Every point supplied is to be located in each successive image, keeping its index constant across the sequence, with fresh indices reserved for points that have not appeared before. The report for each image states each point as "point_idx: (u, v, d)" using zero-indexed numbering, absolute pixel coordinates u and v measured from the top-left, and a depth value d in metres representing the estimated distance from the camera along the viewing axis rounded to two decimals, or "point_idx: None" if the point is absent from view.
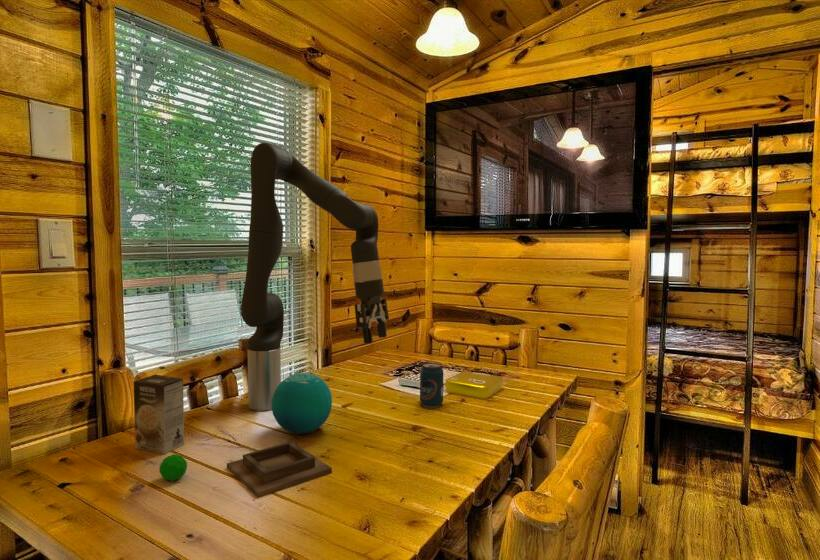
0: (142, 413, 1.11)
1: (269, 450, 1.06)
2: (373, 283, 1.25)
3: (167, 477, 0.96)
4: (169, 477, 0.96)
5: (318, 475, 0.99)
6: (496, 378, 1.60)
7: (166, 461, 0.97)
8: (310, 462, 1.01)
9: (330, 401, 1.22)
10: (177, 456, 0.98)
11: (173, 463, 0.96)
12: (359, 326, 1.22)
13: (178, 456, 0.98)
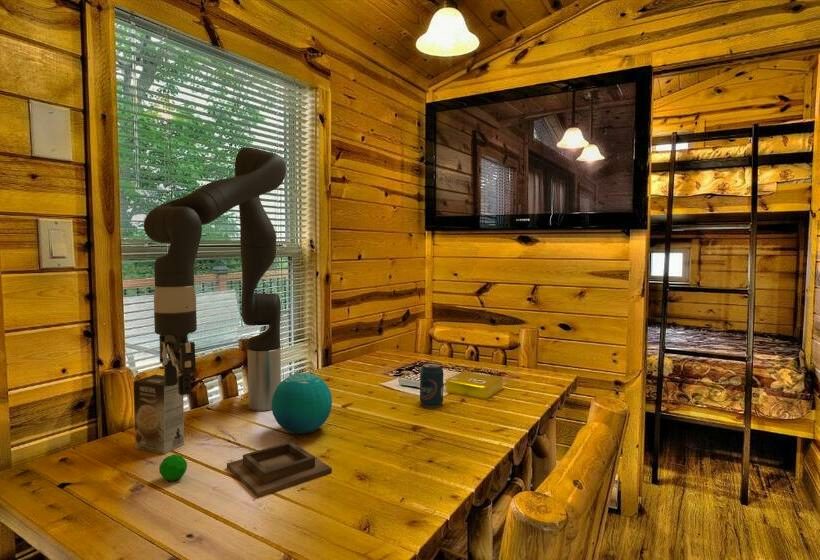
0: (142, 413, 1.11)
1: (269, 450, 1.06)
2: None
3: (167, 477, 0.96)
4: (169, 477, 0.96)
5: (318, 475, 0.99)
6: (496, 378, 1.60)
7: (166, 461, 0.97)
8: (310, 462, 1.01)
9: (330, 401, 1.22)
10: (177, 456, 0.98)
11: (173, 463, 0.96)
12: None
13: (178, 456, 0.98)
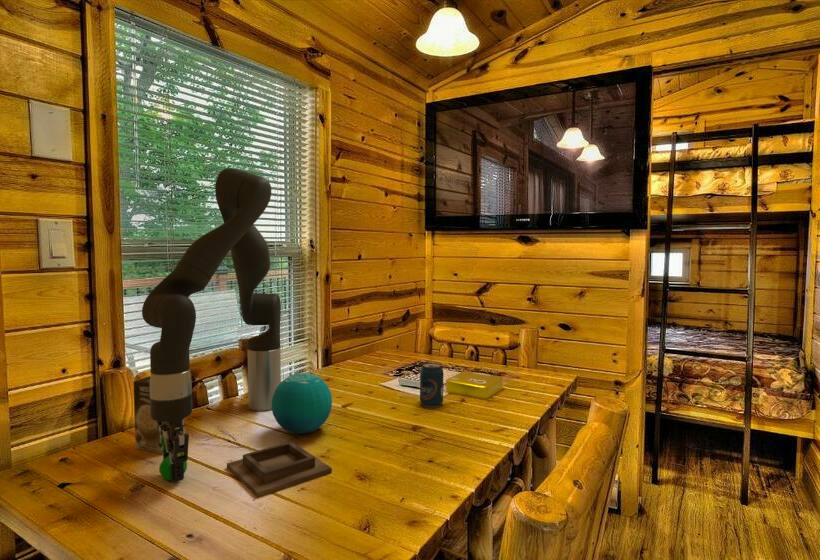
0: (142, 413, 1.11)
1: (269, 450, 1.06)
2: None
3: (167, 477, 0.96)
4: (169, 477, 0.96)
5: (318, 475, 0.99)
6: (497, 378, 1.60)
7: (166, 461, 0.97)
8: (310, 462, 1.01)
9: (330, 401, 1.22)
10: None
11: None
12: None
13: None
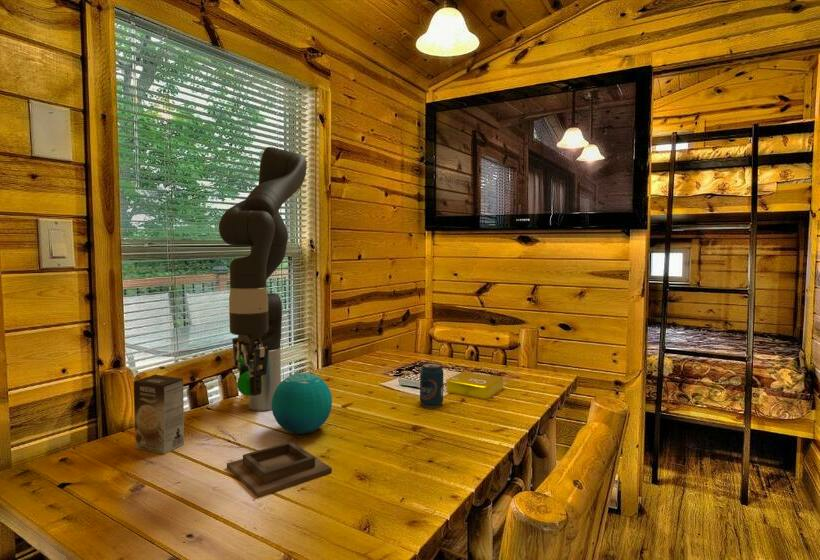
0: (142, 413, 1.11)
1: (269, 450, 1.06)
2: None
3: (245, 391, 0.98)
4: (247, 391, 0.98)
5: (318, 475, 0.99)
6: (497, 378, 1.60)
7: (244, 376, 0.98)
8: (310, 462, 1.01)
9: (330, 401, 1.22)
10: None
11: None
12: None
13: None
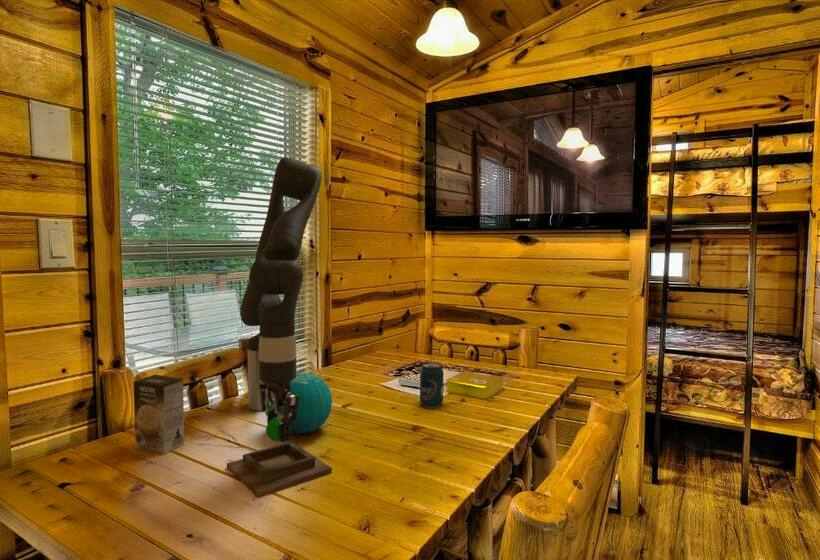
0: (142, 413, 1.11)
1: (269, 450, 1.06)
2: None
3: (275, 437, 1.00)
4: (277, 437, 1.00)
5: (318, 475, 0.99)
6: (497, 378, 1.60)
7: (273, 422, 1.00)
8: (310, 462, 1.01)
9: (330, 401, 1.22)
10: None
11: None
12: None
13: None
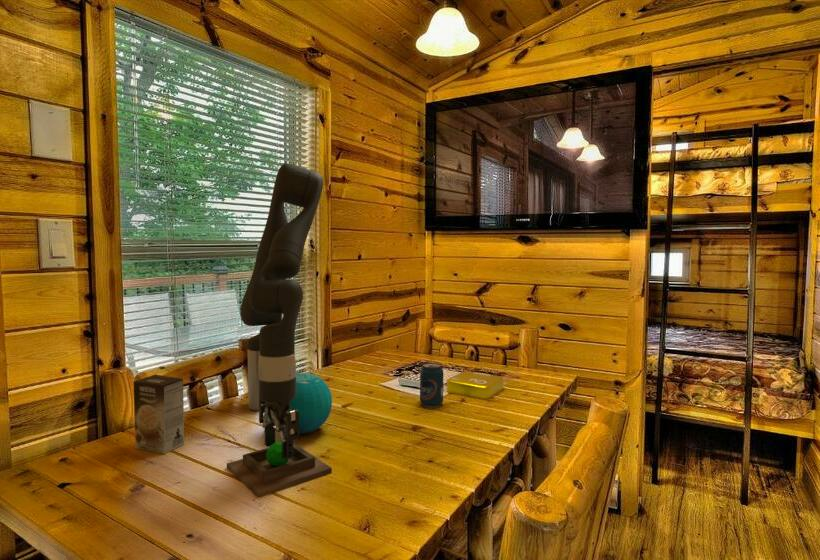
0: (142, 413, 1.11)
1: None
2: None
3: (275, 463, 1.00)
4: (277, 463, 1.00)
5: (318, 475, 0.99)
6: (497, 378, 1.60)
7: (273, 448, 1.01)
8: (310, 462, 1.01)
9: (330, 401, 1.22)
10: None
11: (280, 450, 1.00)
12: None
13: None
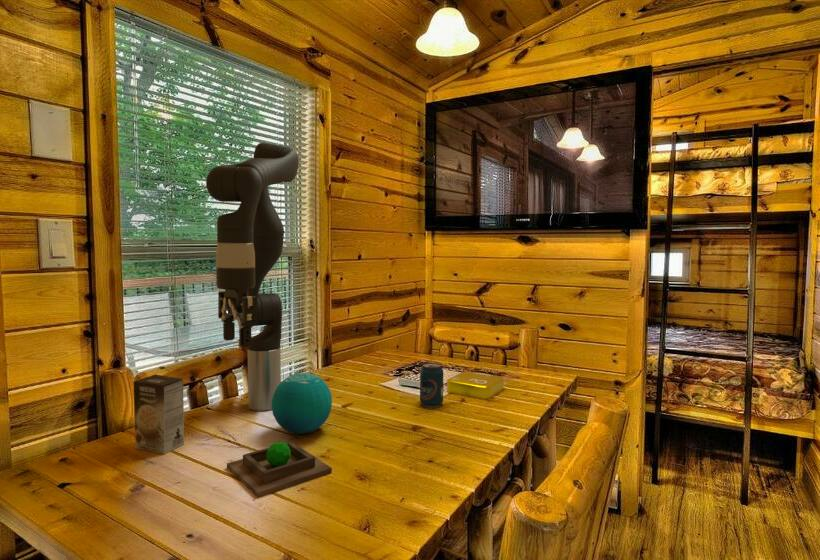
0: (142, 413, 1.11)
1: None
2: None
3: (275, 463, 1.00)
4: (277, 463, 1.00)
5: (318, 475, 0.99)
6: (498, 378, 1.60)
7: (273, 448, 1.01)
8: (310, 462, 1.01)
9: (330, 401, 1.22)
10: (282, 443, 1.02)
11: (280, 450, 1.00)
12: None
13: (283, 443, 1.02)
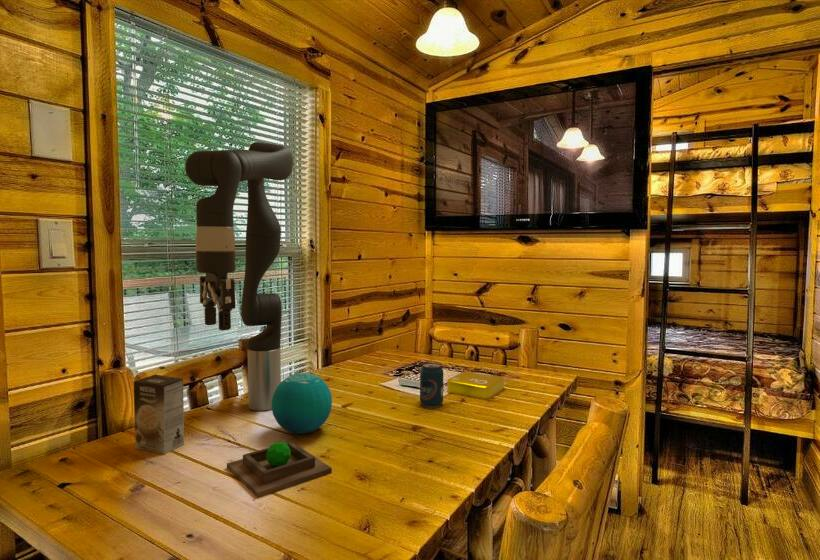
0: (142, 413, 1.11)
1: None
2: None
3: (275, 463, 1.00)
4: (277, 463, 1.00)
5: (318, 475, 0.99)
6: (498, 378, 1.60)
7: (273, 448, 1.01)
8: (310, 462, 1.01)
9: (330, 401, 1.22)
10: (282, 443, 1.02)
11: (280, 450, 1.00)
12: None
13: (283, 443, 1.02)
